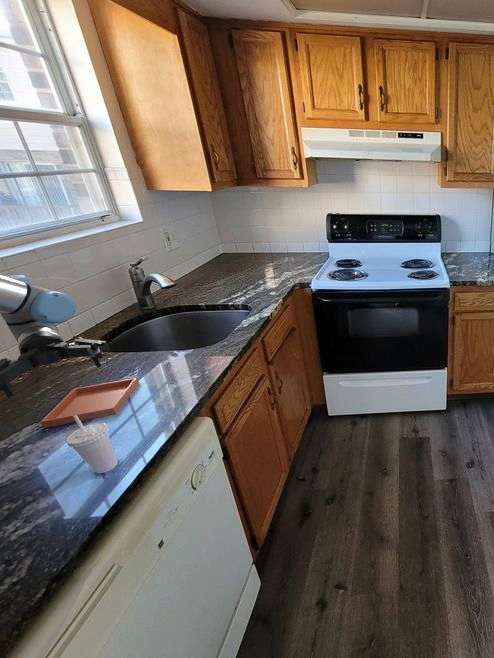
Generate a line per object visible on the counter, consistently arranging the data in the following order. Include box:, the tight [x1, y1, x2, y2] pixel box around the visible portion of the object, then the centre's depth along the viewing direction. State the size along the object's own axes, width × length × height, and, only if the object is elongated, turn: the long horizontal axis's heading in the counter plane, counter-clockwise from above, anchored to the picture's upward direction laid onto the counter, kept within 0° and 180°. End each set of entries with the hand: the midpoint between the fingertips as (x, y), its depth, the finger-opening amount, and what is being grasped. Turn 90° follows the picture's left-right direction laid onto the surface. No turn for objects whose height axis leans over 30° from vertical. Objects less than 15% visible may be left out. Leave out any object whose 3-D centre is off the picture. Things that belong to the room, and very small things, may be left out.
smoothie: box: [65, 415, 118, 474], centre depth 77 cm, size 6×6×14 cm
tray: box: [40, 377, 140, 429], centre depth 100 cm, size 15×15×2 cm
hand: (54, 375), depth 77 cm, fingers open, 13 cm apart
